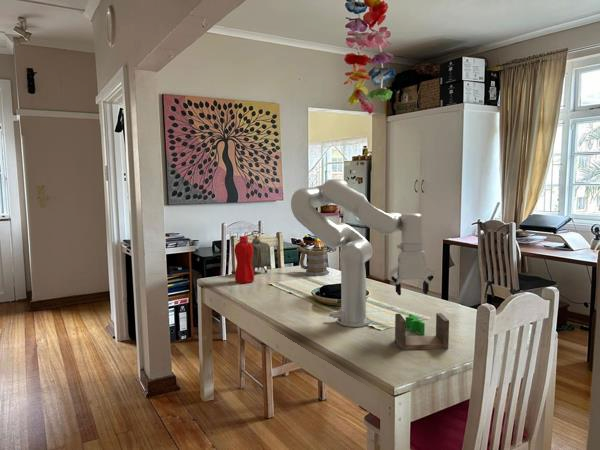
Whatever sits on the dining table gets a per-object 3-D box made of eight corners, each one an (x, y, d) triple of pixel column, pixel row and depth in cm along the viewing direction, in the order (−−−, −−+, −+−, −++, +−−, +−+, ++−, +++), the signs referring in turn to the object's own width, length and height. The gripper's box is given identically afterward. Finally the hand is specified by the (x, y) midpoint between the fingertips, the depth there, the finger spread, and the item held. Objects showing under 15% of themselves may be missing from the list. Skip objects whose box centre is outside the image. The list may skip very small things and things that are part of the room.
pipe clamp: (402, 326, 170) (402, 314, 169) (411, 325, 170) (411, 313, 170) (414, 336, 159) (414, 323, 158) (424, 335, 159) (424, 322, 159)
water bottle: (243, 285, 235) (242, 238, 232) (232, 281, 243) (231, 236, 240) (258, 282, 240) (257, 236, 238) (247, 278, 249) (246, 234, 246)
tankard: (331, 272, 263) (331, 247, 262) (321, 276, 253) (321, 250, 251) (303, 269, 274) (302, 244, 272) (291, 273, 263) (291, 247, 262)
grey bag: (270, 272, 264) (269, 231, 261) (259, 275, 257) (258, 232, 254) (253, 269, 273) (252, 229, 270) (242, 272, 266) (241, 230, 264)
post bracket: (400, 349, 146) (401, 321, 145) (394, 340, 154) (395, 313, 153) (448, 348, 147) (449, 320, 146) (440, 339, 155) (441, 313, 154)
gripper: (390, 249, 157) (390, 297, 159) (439, 248, 157) (438, 295, 159) (385, 246, 165) (386, 292, 166) (432, 245, 165) (432, 290, 167)
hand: (412, 293), depth 163 cm, fingers open, 9 cm apart
